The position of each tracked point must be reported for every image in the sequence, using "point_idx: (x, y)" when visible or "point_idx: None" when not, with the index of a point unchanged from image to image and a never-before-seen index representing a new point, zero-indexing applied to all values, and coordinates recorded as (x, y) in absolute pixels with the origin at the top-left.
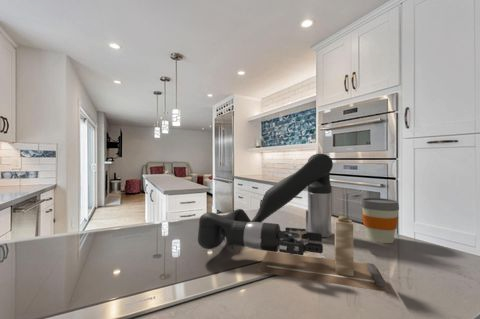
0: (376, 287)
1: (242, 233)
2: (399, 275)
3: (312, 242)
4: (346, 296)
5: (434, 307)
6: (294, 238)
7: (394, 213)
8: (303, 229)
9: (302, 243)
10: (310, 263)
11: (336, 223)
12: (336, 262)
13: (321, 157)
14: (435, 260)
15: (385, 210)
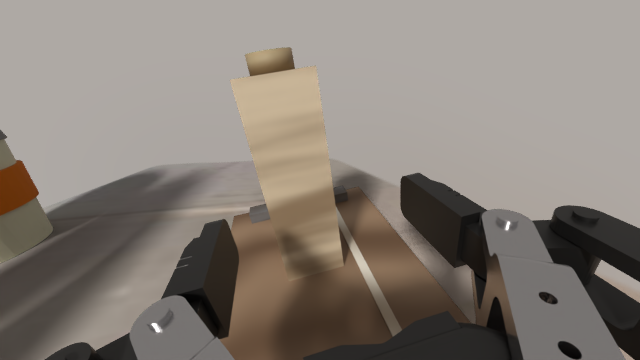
0: (356, 199)
1: None
2: (252, 200)
3: (436, 197)
4: (419, 243)
5: (343, 172)
6: (581, 296)
7: (8, 147)
8: None
9: (533, 228)
10: None
11: (315, 71)
12: (338, 233)
13: None
14: (174, 182)
15: None
